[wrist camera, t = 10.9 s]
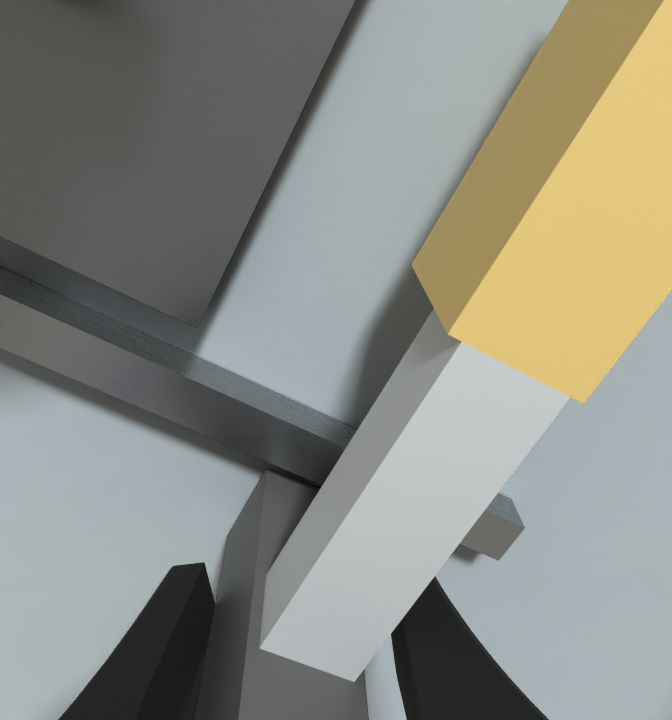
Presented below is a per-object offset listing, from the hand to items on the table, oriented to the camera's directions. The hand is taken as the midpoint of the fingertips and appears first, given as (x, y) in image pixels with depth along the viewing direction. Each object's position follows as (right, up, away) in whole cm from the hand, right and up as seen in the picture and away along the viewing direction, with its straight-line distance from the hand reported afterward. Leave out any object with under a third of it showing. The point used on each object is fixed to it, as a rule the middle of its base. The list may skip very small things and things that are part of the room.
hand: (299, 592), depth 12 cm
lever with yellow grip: (+2, +6, 0) cm, 6 cm away
